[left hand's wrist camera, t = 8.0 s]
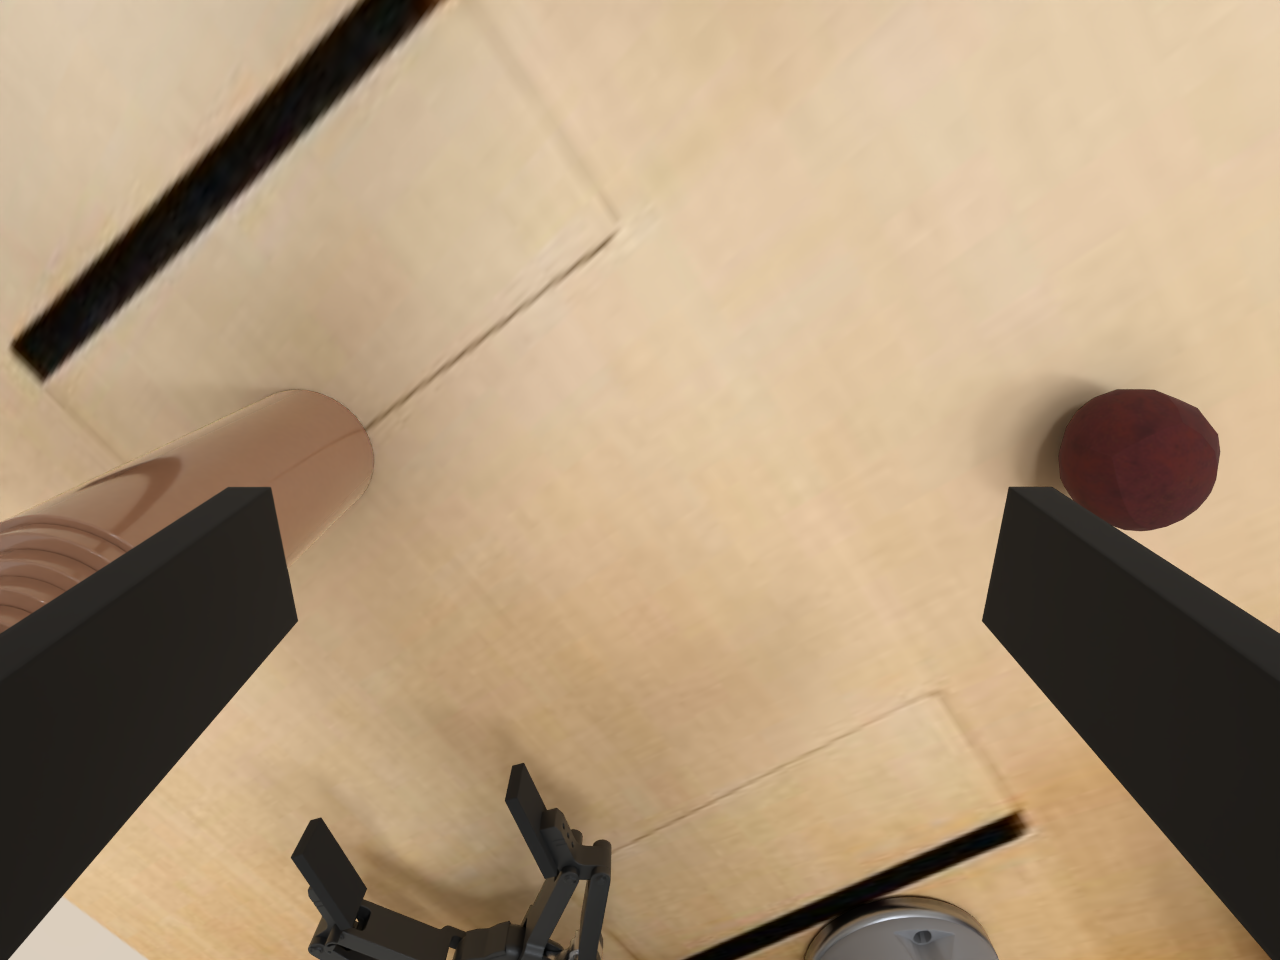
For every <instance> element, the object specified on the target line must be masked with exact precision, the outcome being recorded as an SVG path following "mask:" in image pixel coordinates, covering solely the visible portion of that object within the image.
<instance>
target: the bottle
mask: <svg viewBox="0 0 1280 960" xmlns="http://www.w3.org/2000/svg"><path fill="white" fill-rule="evenodd" d="M373 467H374V457H373V450H372V446H371V443H370V440H369V437H368V435H367V433H366V431H365V429H364V428H363V426H362V425H361V423H360V422H359V421H358V419H357V418H356V417H355V416H354V415H353V414H352V413H351V412H350V411H349V410H348V409H347V408H345V407H344V406H343V405H342V404H340V403H338V402H337V401H335V400H334V399H332V398H329V397H327V396H325V395H322V394H319V393H317V392H312V391H307V390H287V391H281V392H278V393H275V394H272V395H270V396H268V397H266V398H264V399H262V400H259V401H257V402H255V403H253V404H251V405H249V406H247V407H245V408H242V409H240V410H238V411H236V412H234V413H232V414H230V415H228V416H225V417H223V418H221V419H219V420H217V421H215V422H213V423H211V424H208V425H206V426H204V427H202V428H200V429H198V430H196V431H194V432H191V433H189V434H187V435H185V436H183V437H181V438H179V439H177V440H174V441H172V442H170V443H168V444H166V445H164V446H162V447H159V448H157V449H155V450H153V451H151V452H149V453H147V454H145V455H142V456H140V457H138V458H136V459H134V460H132V461H130V462H128V463H125V464H123V465H121V466H119V467H117V468H115V469H113V470H111V471H108V472H106V473H104V474H102V475H100V476H98V477H96V478H94V479H91V480H89V481H87V482H85V483H83V484H81V485H79V486H77V487H74V488H72V489H70V490H68V491H66V492H64V493H62V494H60V495H57V496H55V497H53V498H51V499H49V500H47V501H45V502H43V503H40V504H38V505H36V506H34V507H32V508H30V509H28V510H26V511H23V512H21V513H19V514H17V515H15V516H13V517H11V518H8V519H6V520H4V521H2V522H0V633H2V632H4V631H5V630H7V629H8V628H10V627H11V626H13V625H14V624H16V623H18V622H19V621H21V620H22V619H24V618H25V617H27V616H28V615H30V614H32V613H33V612H35V611H36V610H38V609H39V608H41V607H42V606H44V605H46V604H47V603H49V602H50V601H52V600H53V599H55V598H56V597H58V596H59V595H61V594H63V593H64V592H66V591H67V590H69V589H70V588H72V587H73V586H75V585H77V584H78V583H80V582H81V581H83V580H84V579H86V578H87V577H89V576H91V575H92V574H94V573H95V572H97V571H98V570H100V569H101V568H103V567H104V566H106V565H108V564H109V563H111V562H112V561H114V560H115V559H117V558H118V557H120V556H122V555H123V554H125V553H126V552H128V551H129V550H131V549H132V548H134V547H136V546H137V545H139V544H140V543H142V542H143V541H145V540H146V539H148V538H150V537H151V536H153V535H154V534H156V533H157V532H159V531H160V530H162V529H163V528H165V527H167V526H168V525H170V524H171V523H173V522H174V521H176V520H177V519H179V518H181V517H182V516H184V515H185V514H187V513H188V512H190V511H191V510H193V509H195V508H196V507H198V506H199V505H201V504H202V503H204V502H205V501H207V500H209V499H210V498H212V497H213V496H215V495H216V494H218V493H219V492H221V491H222V490H224V489H226V488H227V487H271V489H272V494H273V499H274V504H275V509H276V514H277V519H278V524H279V529H280V534H281V539H282V544H283V549H284V554H285V559H286V564H287V569H288V568H289V567H290V566H291V565H292V564H293V563H294V562H295V561H296V560H297V559H298V558H299V557H300V556H301V555H302V554H303V553H304V552H305V551H306V550H307V549H308V548H309V547H310V546H311V545H312V544H313V543H314V542H315V541H316V540H317V539H318V538H319V537H320V536H321V535H322V534H323V533H324V532H325V531H326V530H327V529H328V528H329V527H330V526H331V525H332V524H333V523H334V522H336V521H337V520H338V519H339V518H340V517H341V516H342V515H343V514H344V513H345V512H346V511H347V510H348V509H349V508H350V507H351V506H352V505H353V504H354V503H355V502H356V501H357V500H358V499H359V498H360V497H361V496H362V494H363V493H364V492H365V490H366V489H367V487H368V485H369V483H370V480H371V477H372V473H373Z"/></svg>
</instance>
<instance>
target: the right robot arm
mask: <svg viewBox="0 0 1280 960" xmlns="http://www.w3.org/2000/svg"><path fill="white" fill-rule="evenodd" d="M505 802H506V804H507V806H508V808H509V810H510V812H511V814H512V816H513V818H514V819H515V821H516V823H517V825H518V827H519V829H520V831H521V833H522V835H523V837H524V839H525V841H526V843H527V845H528V847H529V849H530V851H531V853H532V855H533V857H534V858H535V860H536V862H537V864H538V866H539V868H540V870H541V872H542V874H543V876H544V878H545V879H546V880H545V882H544V884H543V886H542V888H541V890H540V892H539V894H538V896H537V898H536V900H535V902H534V904H533V905H531V906H530V907H529V909H528V911H527V913H526V915H525V918H524V920H523V922H522V924H521V926H520V925H516V924H511V923H510V921H507V922H503V923H499V924H497V925H495V926H493V927H491V928H487V929H475V930H471V931H467V932H464V931H462V930H459V929H457V928H454V927H452V926H445V927H444V928H442V929H437V928H435V927H432V926H430V925H427V924H424V923H422V922H419V921H417V920H414V919H412V918H409V917H407V916H404V915H402V914H399V913H397V912H394V911H392V910H389V909H387V908H384V907H382V906H379V905H377V904H374V903H372V902H369V901H366V900H364V899H363V897H364V895H365V892H366V890H367V888H366V886H365V885H364V883H363V882H362V880H361V878H360V877H359V875H358V874H357V872H356V871H355V869H354V868H353V866H352V864H351V863H350V861H349V860H348V858H347V857H346V855H345V854H344V852H343V850H342V849H341V847H340V846H339V844H338V843H337V841H336V840H335V838H334V837H333V835H332V833H331V832H330V830H329V829H328V827H327V826H326V824H325V823H324V821H323V819H322V818H318V819H314V820H310V822H309V824H308V826H307V828H306V830H305V832H304V833H303V835H302V837H301V839H300V841H299V843H298V845H297V847H296V849H295V851H294V852H293V854H292V856H291V859H292V860H293V862H294V863H295V864H296V866H297V867H298V869H299V870H300V872H301V873H302V875H303V876H304V878H305V879H306V881H307V882H308V883H309V885H310V887H309V889H308V894H309V897H310V899H311V900H312V902H314V905H315V906H317V909H318V910H319V912H320V913H321V915H322V918H321V920H320V922H319V925H318V927H317V929H316V932H315V934H314V936H313V938H312V941H311V943H310V945H309V947H308V951H309V953H310V954H311V955H313V956H315V957H316V958H318V959H320V960H446V957H447V953H448V949H449V947H451V948H453V949H456V951H455V954H454V957H453V960H602V958H603V938H602V935H601V929H602V923H603V918H604V913H605V907H606V902H607V897H608V891H609V886H610V877H611V844H610V842H608V841H606V840H598V841H596V842H595V843H594V844H593V846H583V845H582V833H581V832H580V831H578V830H575V829H572V830H571V829H570V827H569V825H568V823H567V821H566V819H565V817H564V815H563V813H562V812H561V811H560V810H559V809H558V808H554V809H551V810H547V809H546V807H545V805H544V803H543V801H542V799H541V797H540V795H539V793H538V791H537V789H536V787H535V785H534V783H533V780H532V778H531V776H530V774H529V772H528V770H527V768H526V766H525V764H524V763H521V764H517V765H514V766H512V770H511V775H510V779H509V784H508V789H507V793H506V798H505ZM579 880H587V883H586V889H585V894H584V900H583V906H582V912H581V920H580V930H577V931H576V932H575V938H573V939H572V940H571V941H570V947H569V948H568V949H566V950H564V949H563V947H562V946H561V945H560V944H558V943H556V942H554V941H552V940H550V939H549V938H550V936H551V934H552V932H553V930H554V929H555V927H556V925H557V923H558V921H559V919H560V917H561V915H562V913H563V911H564V909H565V907H566V905H567V903H568V902H569V900H570V898H571V896H572V894H573V892H574V890H575V888H576V886H577V884H578V882H579ZM356 918H357V919H358V922H357V921H355V920H356ZM804 960H999V959H998V956H997V954H996V952H995V950H994V948H993V946H992V944H991V942H990V940H989V938H988V936H987V934H986V932H985V930H984V929H983V927H982V926H981V925H980V923H979V922H978V921H977V920H976V919H975V918H973V917H972V916H971V915H970V914H968V913H967V912H965V911H964V910H962V909H960V908H958V907H956V906H954V905H951V904H949V903H945V902H942V901H938V900H934V899H928V898H918V897H900V898H890V899H884V900H879V901H875V902H871V903H868V904H865V905H862V906H859V907H857V908H854V909H852V910H850V911H848V912H846V913H844V914H842V915H841V916H839V917H838V918H836V919H835V920H833V921H832V922H830V923H829V924H828V925H827V926H826V927H825V928H823V929H822V930H821V931H820V932H819V934H818V935H817V936H816V937H815V938H814V940H813V941H812V943H811V944H810V946H809V948H808V950H807V953H806V955H805V959H804Z"/></svg>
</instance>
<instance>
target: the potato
mask: <svg viewBox="0 0 1280 960" xmlns="http://www.w3.org/2000/svg"><path fill="white" fill-rule="evenodd" d="M1219 456H1220V446H1219V439H1218V434H1217V433H1216V431H1215V430H1214V429H1213V427H1212V426H1211V425H1210V424H1209V422H1208V421H1207V420H1206V418H1205V417H1204V416H1203V415H1202V413H1201V412H1200V411H1199V409H1198V408H1196V407H1194V406H1192V405H1190V404H1187V403H1185V402H1183V401H1181V400H1179V399H1176V398H1174V397H1171V396H1169V395H1166V394H1164V393H1161V392H1158V391H1156V390H1145V389H1117V390H1114V391H1111V392H1108V393H1106V394H1103V395H1100V396H1097V397H1095V398H1093V399H1091V400H1090V401H1089V402H1087V403H1086V404H1085V405H1084V406H1083V407H1081V408H1080V409H1079V410H1078V411H1077V412H1076V413H1075V415H1074V416H1073V418H1072V419H1071V421H1070V422H1069V424H1068V425H1067V427H1066V430H1065V434H1064V437H1063V441H1062V444H1061V448H1060V452H1059V468H1060V478H1061V480H1062V483H1063V485H1064V487H1065V488H1066V490H1067V491H1068V493H1069V494H1070V496H1071V497H1072V499H1073V501H1075V502H1076V503H1078V504H1079V505H1081V506H1082V507H1084V508H1085V509H1087V510H1089V511H1090V512H1092V513H1093V514H1095V515H1096V516H1098V517H1099V518H1101V519H1103V520H1104V521H1106V522H1107V523H1109V524H1110V525H1112V526H1115V527H1118V528H1121V529H1123V530H1132V531H1148V530H1154V529H1158V528H1162V527H1167V526H1169V525H1171V524H1174V523H1176V522H1178V521H1180V520H1183V519H1184V518H1186V517H1187V516H1188V515H1190V514H1191V513H1193V512H1194V511H1195V510H1197V509H1198V508H1199V507H1200V506H1201V504H1202V503H1203V502H1204V501H1205V500H1206V499H1207V497H1208V496H1209V494H1210V493H1211V491H1212V488H1213V486H1214V483H1215V481H1216V476H1217V469H1218V463H1219Z"/></svg>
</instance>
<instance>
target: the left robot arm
mask: <svg viewBox="0 0 1280 960" xmlns="http://www.w3.org/2000/svg"><path fill="white" fill-rule="evenodd" d="M297 622H298V619H297V614H296V609H295V604H294V599H293V594H292V589H291V584H290V579H289V574H288V569H287V564H286V559H285V554H284V549H283V544H282V539H281V534H280V529H279V524H278V519H277V514H276V509H275V504H274V499H273V494H272V489H271V487H227V488H226V489H224V490H222V491H221V492H219V493H218V494H216V495H215V496H213V497H212V498H210V499H209V500H207V501H205V502H204V503H202V504H201V505H199V506H198V507H196V508H195V509H193V510H191V511H190V512H188V513H187V514H185V515H184V516H182V517H181V518H179V519H177V520H176V521H174V522H173V523H171V524H170V525H168V526H167V527H165V528H163V529H162V530H160V531H159V532H157V533H156V534H154V535H153V536H151V537H150V538H148V539H146V540H145V541H143V542H142V543H140V544H139V545H137V546H136V547H134V548H132V549H131V550H129V551H128V552H126V553H125V554H123V555H122V556H120V557H118V558H117V559H115V560H114V561H112V562H111V563H109V564H108V565H106V566H104V567H103V568H101V569H100V570H98V571H97V572H95V573H94V574H92V575H91V576H89V577H87V578H86V579H84V580H83V581H81V582H80V583H78V584H77V585H75V586H73V587H72V588H70V589H69V590H67V591H66V592H64V593H63V594H61V595H59V596H58V597H56V598H55V599H53V600H52V601H50V602H49V603H47V604H46V605H44V606H42V607H41V608H39V609H38V610H36V611H35V612H33V613H32V614H30V615H28V616H27V617H25V618H24V619H22V620H21V621H19V622H18V623H16V624H14V625H13V626H11V627H10V628H8V629H7V630H5V631H4V632H2V633H0V960H8V959H9V958H10V957H11V956H12V954H13V953H14V952H15V951H16V950H17V949H18V947H19V946H20V945H21V944H22V943H23V942H24V940H25V939H26V938H27V937H28V936H29V935H30V933H31V932H32V931H33V930H34V929H35V928H36V926H37V925H38V924H39V923H40V922H41V920H42V919H43V918H44V917H45V916H46V915H47V914H48V912H49V911H50V910H51V909H52V908H53V907H54V905H55V904H56V903H57V902H58V901H59V899H60V898H61V897H62V896H63V895H64V894H65V892H66V891H67V890H68V889H69V888H70V887H71V885H72V884H73V883H74V882H75V881H76V880H77V878H78V877H79V876H80V875H81V874H82V873H83V871H84V870H85V869H86V868H87V867H88V866H89V864H90V863H91V862H92V861H93V860H94V859H95V857H96V856H97V855H98V854H99V853H100V852H101V850H102V849H103V848H104V847H105V846H106V845H107V843H108V842H109V841H110V840H111V839H112V838H113V836H114V835H115V834H116V833H117V832H118V831H119V829H120V828H121V827H122V826H123V825H124V824H125V822H126V821H127V820H128V819H129V818H130V817H131V815H132V814H133V813H134V812H135V811H136V810H137V808H138V807H139V806H140V805H141V804H142V803H143V801H144V800H145V799H146V798H147V797H148V796H149V794H150V793H151V792H152V791H153V790H154V789H155V787H156V786H157V785H158V784H159V783H160V782H161V780H162V779H163V778H164V777H165V776H166V775H167V773H168V772H169V771H170V770H171V769H172V768H173V766H174V765H175V764H176V763H177V762H178V761H179V759H180V758H181V757H182V756H183V755H184V754H185V752H186V751H187V750H188V749H189V748H190V747H191V745H192V744H193V743H194V742H195V741H196V740H197V738H198V737H199V736H200V735H201V734H202V732H203V731H204V730H205V729H206V728H207V727H208V725H209V724H210V723H211V722H212V721H213V720H214V718H215V717H216V716H217V715H218V714H219V713H220V711H221V710H222V709H223V708H224V707H225V706H226V704H227V703H228V702H229V701H230V700H231V699H232V697H233V696H234V695H235V694H236V693H237V692H238V690H239V689H240V688H241V687H242V686H243V685H244V683H245V682H246V681H247V680H248V679H249V678H250V676H251V675H252V674H253V673H254V672H255V671H256V669H257V668H258V667H259V666H260V665H261V664H262V662H263V661H264V660H265V659H266V658H267V657H268V655H269V654H270V653H271V652H272V651H273V650H274V648H275V647H276V646H277V645H278V644H279V643H280V641H281V640H282V639H283V638H284V637H285V636H286V634H287V633H288V632H289V631H290V630H291V629H292V627H293V626H294V625H295V624H296V623H297ZM982 622H983V623H984V624H985V625H986V626H987V627H988V629H989V630H990V631H991V632H992V633H993V634H994V636H995V637H996V638H997V639H998V640H999V641H1000V643H1001V644H1002V645H1003V646H1004V647H1005V648H1006V650H1007V651H1008V652H1009V653H1010V654H1011V655H1012V657H1013V658H1014V659H1015V660H1016V661H1017V662H1018V664H1019V665H1020V666H1021V667H1022V668H1023V669H1024V671H1025V672H1026V673H1027V674H1028V675H1029V676H1030V678H1031V679H1032V680H1033V681H1034V682H1035V683H1036V685H1037V686H1038V687H1039V688H1040V689H1041V690H1042V692H1043V693H1044V694H1045V695H1046V696H1047V697H1048V699H1049V700H1050V701H1051V702H1052V703H1053V704H1054V706H1055V707H1056V708H1057V709H1058V710H1059V711H1060V713H1061V714H1062V715H1063V716H1064V717H1065V718H1066V720H1067V721H1068V722H1069V723H1070V724H1071V725H1072V727H1073V728H1074V729H1075V730H1076V731H1077V732H1078V734H1079V735H1080V736H1081V737H1082V738H1083V740H1084V741H1085V742H1086V743H1087V744H1088V745H1089V747H1090V748H1091V749H1092V750H1093V751H1094V752H1095V754H1096V755H1097V756H1098V757H1099V758H1100V759H1101V761H1102V762H1103V763H1104V764H1105V765H1106V766H1107V768H1108V769H1109V770H1110V771H1111V772H1112V773H1113V775H1114V776H1115V777H1116V778H1117V779H1118V780H1119V782H1120V783H1121V784H1122V785H1123V786H1124V787H1125V789H1126V790H1127V791H1128V792H1129V793H1130V794H1131V796H1132V797H1133V798H1134V799H1135V800H1136V801H1137V803H1138V804H1139V805H1140V806H1141V807H1142V808H1143V810H1144V811H1145V812H1146V813H1147V814H1148V815H1149V817H1150V818H1151V819H1152V820H1153V821H1154V822H1155V824H1156V825H1157V826H1158V827H1159V828H1160V829H1161V831H1162V832H1163V833H1164V834H1165V835H1166V836H1167V838H1168V839H1169V840H1170V841H1171V842H1172V843H1173V845H1174V846H1175V847H1176V848H1177V849H1178V850H1179V852H1180V853H1181V854H1182V855H1183V856H1184V857H1185V859H1186V860H1187V861H1188V862H1189V863H1190V864H1191V866H1192V867H1193V868H1194V869H1195V870H1196V871H1197V873H1198V874H1199V875H1200V876H1201V877H1202V878H1203V880H1204V881H1205V882H1206V883H1207V884H1208V885H1209V887H1210V888H1211V889H1212V890H1213V891H1214V892H1215V894H1216V895H1217V896H1218V897H1219V898H1220V899H1221V901H1222V902H1223V903H1224V904H1225V905H1226V907H1227V908H1228V909H1229V910H1230V911H1231V912H1232V914H1233V915H1234V916H1235V917H1236V918H1237V919H1238V921H1239V922H1240V923H1241V924H1242V925H1243V926H1244V928H1245V929H1246V930H1247V931H1248V932H1249V933H1250V935H1251V936H1252V937H1253V938H1254V939H1255V940H1256V942H1257V943H1258V944H1259V945H1260V946H1261V947H1262V949H1263V950H1264V951H1265V952H1266V953H1267V954H1268V956H1269V957H1270V958H1271V959H1272V960H1280V633H1278V632H1276V631H1275V630H1273V629H1272V628H1270V627H1269V626H1267V625H1266V624H1264V623H1262V622H1261V621H1259V620H1258V619H1256V618H1255V617H1253V616H1252V615H1250V614H1248V613H1247V612H1245V611H1244V610H1242V609H1241V608H1239V607H1238V606H1236V605H1234V604H1233V603H1231V602H1230V601H1228V600H1227V599H1225V598H1224V597H1222V596H1221V595H1219V594H1217V593H1216V592H1214V591H1213V590H1211V589H1210V588H1208V587H1207V586H1205V585H1203V584H1202V583H1200V582H1199V581H1197V580H1196V579H1194V578H1193V577H1191V576H1189V575H1188V574H1186V573H1185V572H1183V571H1182V570H1180V569H1179V568H1177V567H1175V566H1174V565H1172V564H1171V563H1169V562H1168V561H1166V560H1165V559H1163V558H1162V557H1160V556H1158V555H1157V554H1155V553H1154V552H1152V551H1151V550H1149V549H1148V548H1146V547H1144V546H1143V545H1141V544H1140V543H1138V542H1137V541H1135V540H1134V539H1132V538H1130V537H1129V536H1127V535H1126V534H1124V533H1123V532H1121V531H1120V530H1118V529H1117V528H1115V527H1113V526H1112V525H1110V524H1109V523H1107V522H1106V521H1104V520H1103V519H1101V518H1099V517H1098V516H1096V515H1095V514H1093V513H1092V512H1090V511H1089V510H1087V509H1085V508H1084V507H1082V506H1081V505H1079V504H1078V503H1076V502H1075V501H1073V500H1071V499H1070V498H1068V497H1067V496H1065V495H1064V494H1062V493H1061V492H1059V491H1058V490H1056V489H1054V488H1053V487H1009V489H1008V494H1007V499H1006V504H1005V509H1004V514H1003V519H1002V524H1001V529H1000V534H999V539H998V544H997V549H996V554H995V559H994V564H993V569H992V574H991V579H990V584H989V589H988V594H987V599H986V604H985V609H984V614H983V619H982Z"/></svg>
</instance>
